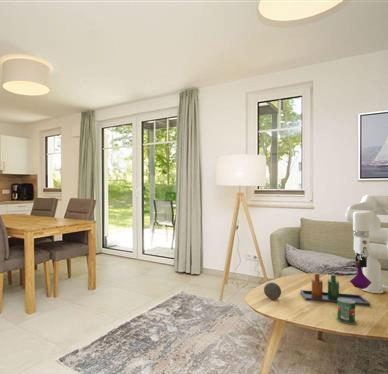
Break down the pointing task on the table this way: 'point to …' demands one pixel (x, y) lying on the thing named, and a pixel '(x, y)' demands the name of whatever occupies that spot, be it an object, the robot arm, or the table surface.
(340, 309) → the canned tomato
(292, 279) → the table surface
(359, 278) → the perfume bottle
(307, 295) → the tray
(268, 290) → the decorative ball
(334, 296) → the green bottle
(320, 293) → the amber bottle
